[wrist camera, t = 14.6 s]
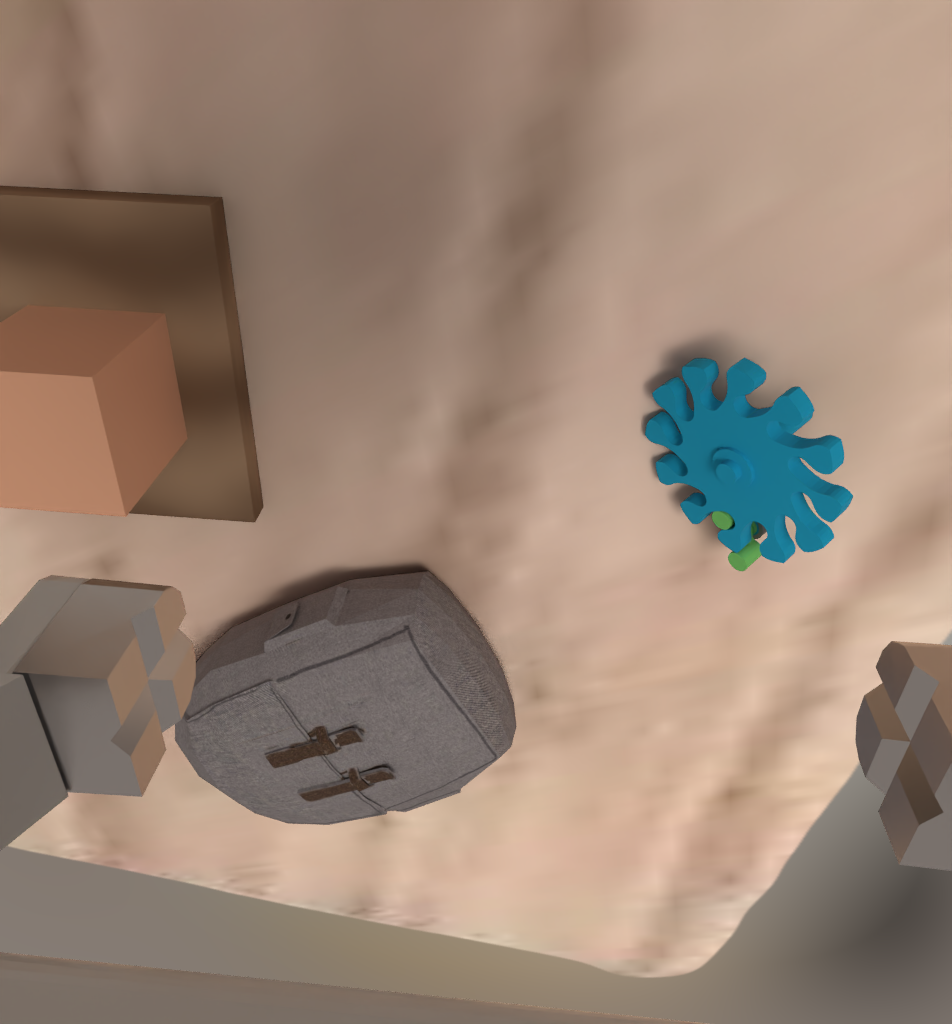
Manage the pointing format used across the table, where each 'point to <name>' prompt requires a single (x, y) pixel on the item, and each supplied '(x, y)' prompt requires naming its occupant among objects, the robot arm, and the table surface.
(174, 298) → the stub plate
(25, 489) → the salmon orange block
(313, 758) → the small grey backpack
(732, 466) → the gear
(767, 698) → the table surface
